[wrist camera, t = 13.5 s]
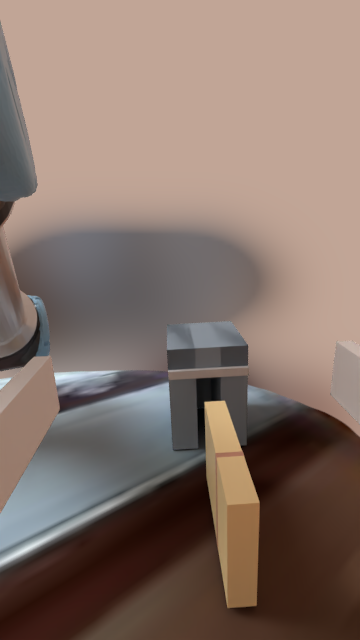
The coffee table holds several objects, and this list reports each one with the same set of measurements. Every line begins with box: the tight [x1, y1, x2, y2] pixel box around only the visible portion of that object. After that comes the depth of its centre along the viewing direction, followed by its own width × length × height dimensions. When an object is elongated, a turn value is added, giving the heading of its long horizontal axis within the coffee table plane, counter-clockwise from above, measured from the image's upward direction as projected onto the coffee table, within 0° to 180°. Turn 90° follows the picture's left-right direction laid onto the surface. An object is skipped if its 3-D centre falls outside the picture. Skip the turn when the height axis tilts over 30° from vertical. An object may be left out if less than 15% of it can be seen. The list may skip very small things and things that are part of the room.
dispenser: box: [167, 321, 249, 450], centre depth 50 cm, size 13×11×16 cm
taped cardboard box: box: [204, 401, 260, 608], centre depth 33 cm, size 15×3×11 cm, turn 2°
